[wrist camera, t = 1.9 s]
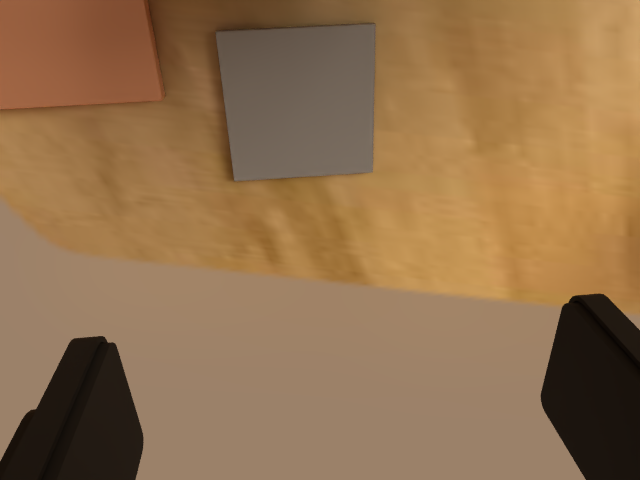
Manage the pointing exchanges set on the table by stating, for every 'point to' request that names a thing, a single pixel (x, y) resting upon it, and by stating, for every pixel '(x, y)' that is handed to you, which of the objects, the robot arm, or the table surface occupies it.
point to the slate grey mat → (299, 100)
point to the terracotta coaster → (77, 53)
